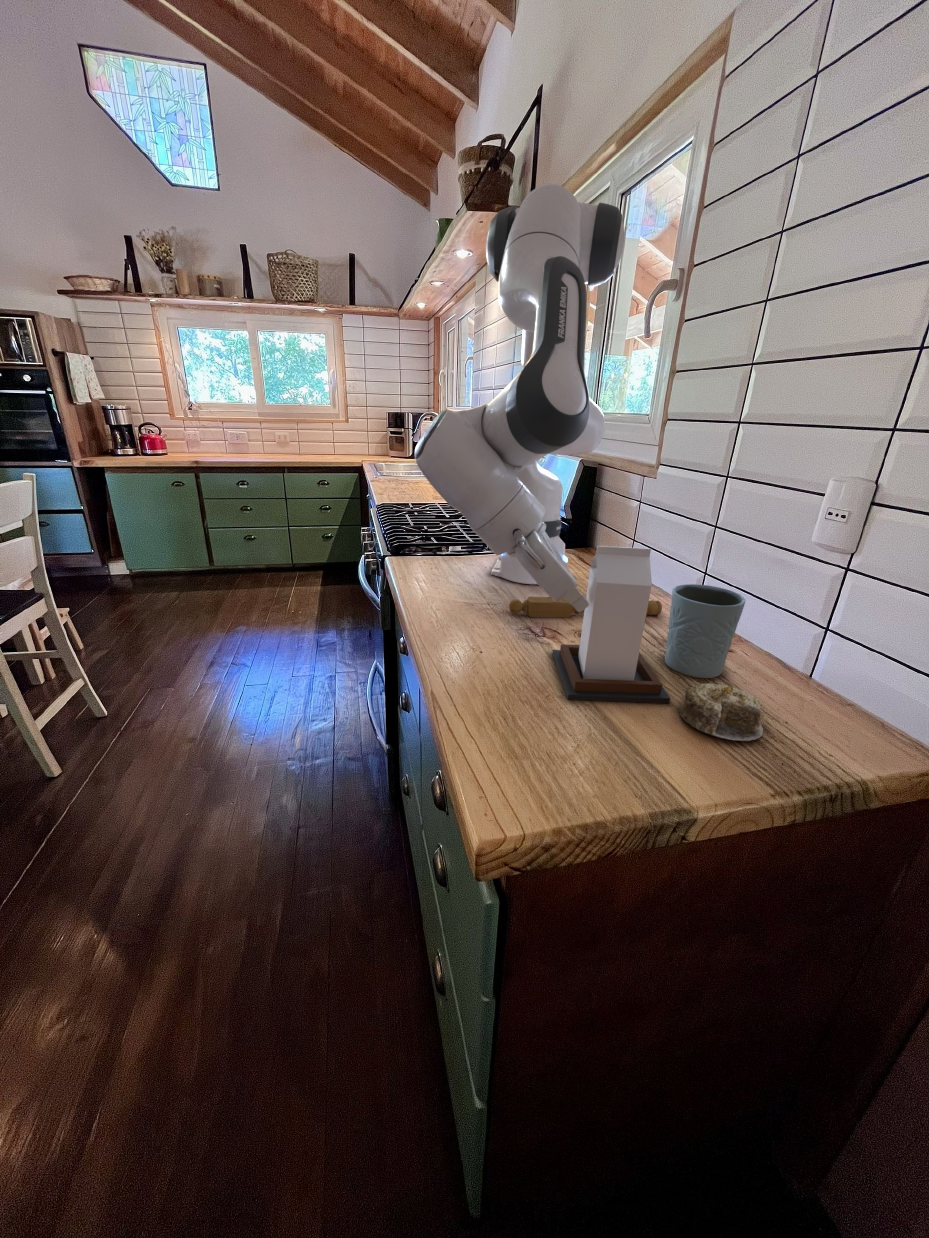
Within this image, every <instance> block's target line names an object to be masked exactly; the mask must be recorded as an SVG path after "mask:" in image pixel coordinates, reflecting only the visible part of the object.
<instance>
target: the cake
mask: <svg viewBox="0 0 929 1238" xmlns="http://www.w3.org/2000/svg"><path fill="white" fill-rule="evenodd" d="M678 713H679V715H680V717H681V718H682V720H684V721H685V722H686V723H687V724H689V725H690V726H691V727H692V728H695V729H696V730H697V731H700V732H702V733H704V734H707V735H710V736H713V737H717V738H719V739H724V740H729V741H736V742H737V741H739V742H740V741H741V742H750V741H754V740H755V741H756V740H758V739H760V738H761V737H763V734H764V728H763V724H762V720H763V717H764V711H763V704H761V701H760V700H759V699H758V698H757V697H756V696H754V695H751V694H750V693H749V692H745V691H743V690H740V689H738V688H736V687H733V686H728V685H725V684H720V683H719V684H718V683H716V684H715V683H714V684H713V683H700V684H695V685H694V686H691V687H690V686H689V687H687V688H686V689H685V691H684V703H682V704H681V705H680V706H679V708H678Z"/></svg>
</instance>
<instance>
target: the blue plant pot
mask: <svg viewBox="0 0 929 1238" xmlns="http://www.w3.org/2000/svg"><path fill="white" fill-rule="evenodd" d="M745 604H746V599H745V598H744V596H743V595H741V594H740V593H737V592H736V591H733V590H730V589H726V588H723V587H719V586H713V585H708V584H707V585H706V584H697V583H696V584H695V583H689V584H686V583H685V584H679V585H676V586H674V587H673V588H672V592H671V602H670V610H669V618H668V626H667V627H668V631H667V636H666V646H665V655H664V663H665V665H667V667H668V668H670V669H672V670H673V671H675V672H677V673H680V674H682V675H685V676H689V677H693V678H697V679H698V678H699V679H713V678H717V677H719V676H720V675H721V674H722V673H723V672H724V669H725V667H726V666H725V665H726V660H727V658H728V655H729V652H730V649H731V646H732V643H733V639H734V637H735V634H736V631H737V627H738V624H739V622H740V619H741V616H742V614H743V610H744V607H745Z"/></svg>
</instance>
